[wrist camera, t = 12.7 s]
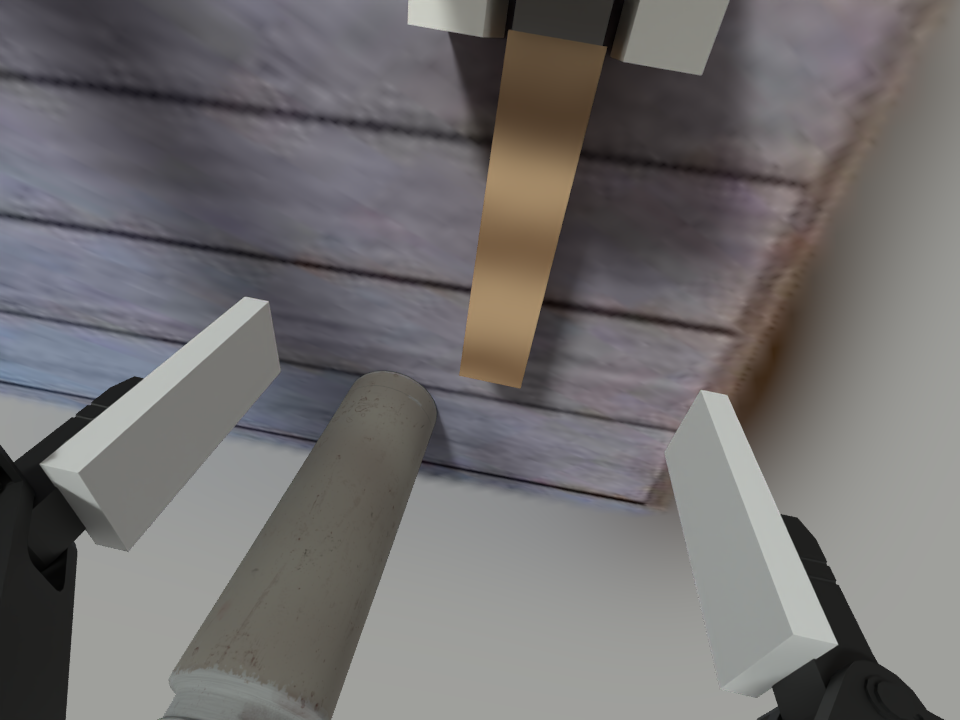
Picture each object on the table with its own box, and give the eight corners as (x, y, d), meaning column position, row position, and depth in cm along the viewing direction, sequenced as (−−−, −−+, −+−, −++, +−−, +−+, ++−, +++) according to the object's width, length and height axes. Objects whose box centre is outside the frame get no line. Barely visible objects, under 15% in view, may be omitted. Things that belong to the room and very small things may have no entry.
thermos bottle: (396, 449, 43) (205, 900, 20) (332, 396, 40) (30, 850, 18) (455, 416, 39) (301, 925, 17) (390, 354, 36) (97, 867, 14)
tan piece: (527, 338, 33) (518, 398, 28) (475, 327, 33) (455, 385, 28) (611, -6, 21) (626, -22, 16) (529, -20, 22) (515, -41, 16)
